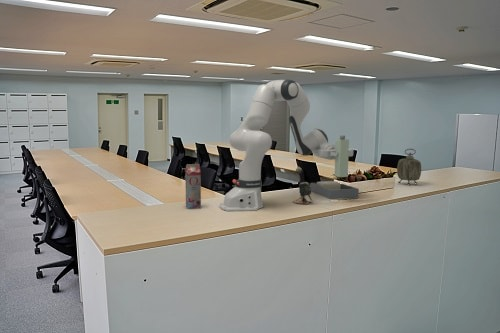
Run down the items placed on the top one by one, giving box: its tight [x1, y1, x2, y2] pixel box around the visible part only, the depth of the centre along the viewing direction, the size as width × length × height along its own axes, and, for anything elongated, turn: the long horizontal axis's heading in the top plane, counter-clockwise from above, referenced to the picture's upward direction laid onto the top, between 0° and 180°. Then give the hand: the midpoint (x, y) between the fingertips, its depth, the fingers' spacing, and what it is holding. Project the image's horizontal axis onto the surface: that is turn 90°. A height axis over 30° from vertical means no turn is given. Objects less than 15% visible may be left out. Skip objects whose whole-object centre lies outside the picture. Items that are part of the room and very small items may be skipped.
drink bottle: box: [334, 135, 350, 178], centre depth 210 cm, size 5×5×22 cm
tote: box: [309, 182, 360, 201], centre depth 229 cm, size 18×24×6 cm
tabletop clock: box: [396, 148, 422, 185], centre depth 268 cm, size 14×9×25 cm, turn 77°
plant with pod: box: [292, 166, 313, 205], centre depth 208 cm, size 8×11×20 cm
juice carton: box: [185, 163, 202, 210], centre depth 196 cm, size 7×7×22 cm
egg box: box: [315, 180, 341, 190], centre depth 235 cm, size 12×8×6 cm, turn 109°
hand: (342, 154), depth 209 cm, fingers closed on drink bottle, 5 cm apart
